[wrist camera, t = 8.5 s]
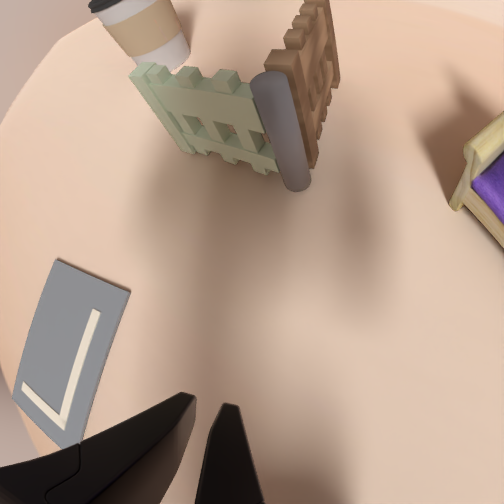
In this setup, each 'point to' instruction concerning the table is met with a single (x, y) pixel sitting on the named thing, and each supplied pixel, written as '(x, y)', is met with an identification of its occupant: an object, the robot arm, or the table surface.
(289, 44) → the walnut fence section
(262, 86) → the sage fence section
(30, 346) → the card
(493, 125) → the toy sofa
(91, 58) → the table surface
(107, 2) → the coffee cup
